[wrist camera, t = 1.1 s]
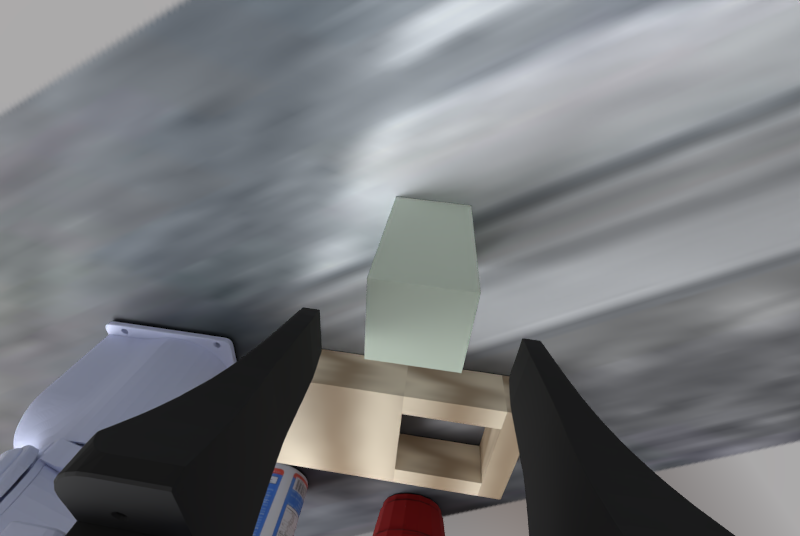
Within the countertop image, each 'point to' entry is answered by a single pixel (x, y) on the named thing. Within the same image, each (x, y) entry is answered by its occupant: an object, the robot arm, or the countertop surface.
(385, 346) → the square peg
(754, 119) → the countertop surface
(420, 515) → the plastic cup
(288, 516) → the pill bottle
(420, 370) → the socket rail
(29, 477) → the robot arm
